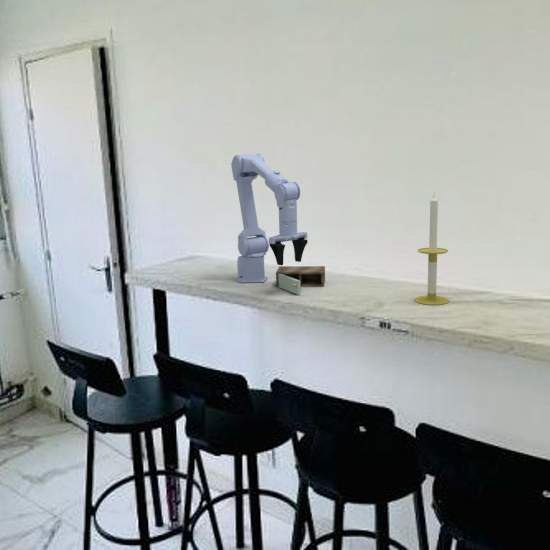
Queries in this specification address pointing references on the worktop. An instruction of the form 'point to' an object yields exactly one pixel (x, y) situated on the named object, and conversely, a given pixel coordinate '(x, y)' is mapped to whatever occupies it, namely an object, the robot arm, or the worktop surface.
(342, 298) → the worktop surface
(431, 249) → the candle
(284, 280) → the door
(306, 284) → the cabinet
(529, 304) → the worktop surface
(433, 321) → the worktop surface
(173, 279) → the worktop surface
